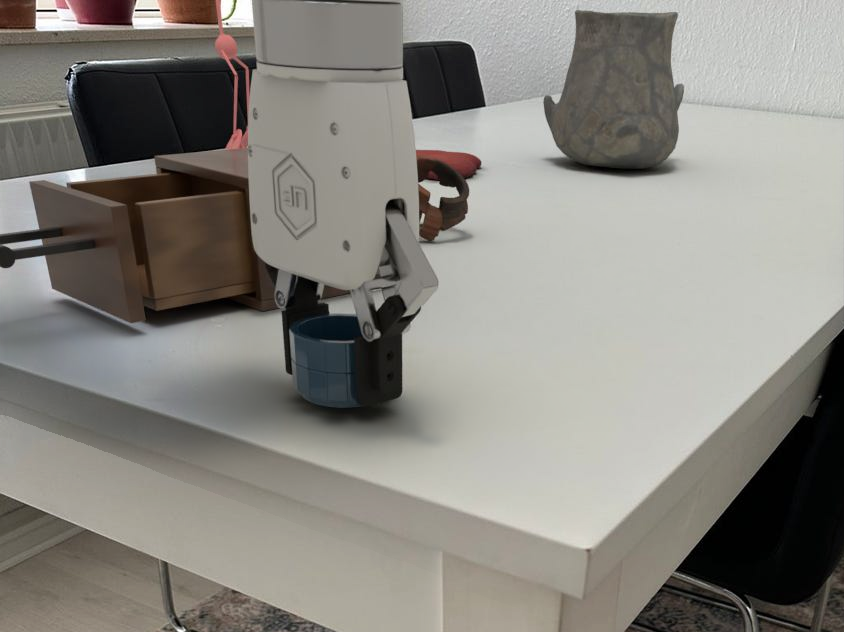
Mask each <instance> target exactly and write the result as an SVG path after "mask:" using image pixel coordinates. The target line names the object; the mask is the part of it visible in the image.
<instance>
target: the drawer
mask: <svg viewBox="0 0 844 632" xmlns="http://www.w3.org/2000/svg"><path fill="white" fill-rule="evenodd" d="M28 183H29V187H30V188H29V189H30V192H31V193H30V194H31V197H32V202H33V206H34V210H35V216H36V219H37V225H38V229H29V230H21V231H14V232H7V233H5V232H4V233H0V268H2V269H10V268H12V267H13V266H14V265H15V263H16V261H18V260H25V259H31V258H38V257H39V258H40V257H45V262H46V266H47V271H48V276H49V281H50V286H51V289H52V290H54V291H56V292H58V293H61V294H63V295H66V296H67V297H70V298H72V299H74V300H76V301H79V302H81V303H84V304H86V305H89V306H91V307H93V308H95V309H96V310H97V309H98V310H99V311H102V312H104V313H106V314H109V315H111V316H113V317H116V318H118V319H121V320H123V321H124V322H127V323H129V324H136V323H140V322H145V321H147V319H146V312H145V307H147V308H149V309H152V310H154V311H157V312H159V311H163V310H168V309H173V308H178V307H179V308H180V307H184V306H189V305H192V304H199V303H205V302H209V301H214V300H219V299H226V298H225V297H230V296H235V295H240V294H245V293H251V292H256V291H255V281H254V271H253V261H252V251H251V241H250V230H249V220H248V210H247V200H246V189H245V188H241V187H237V186H233V185H229V184H225V183H221V182H217V181H213V180H208V179H204V178H200V177H196V176H192V175H188V174H184V173H180V172H169V173H159V174H157V173H149V174H141V175H140V174H138V175H131V176H130V175H129V176H120V177H109V178H100V179H99V178H98V179H90V180H88V179H87V180H79V181H69V182H66V183H65V184H66V186H65V185H62V184H58V183H54V182H51V181H48V180H45V179H41V180H32V181H28ZM38 240H41V244H40V245H32V246H26V247H25V246H24V247H18V248H10V247H8V246H6V245H9V244H16V243H17V244H18V243H23V242H25V243H26V242H32V241H38Z"/></svg>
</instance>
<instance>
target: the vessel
mask: <svg viewBox="0 0 844 632" xmlns="http://www.w3.org/2000/svg"><path fill="white" fill-rule="evenodd" d="M574 16H575V17H574V19H575V38H574V45H573V48H572V54H571V59H570V62H569V66H568V69H567V72H566V76H565V81H564V85H563V89H562V92H561V95H560V97H559V101H558V102H555V101H554V100H553V97H552V96H551V95H549V94H546V95H544V97H543V101H542V102H543V103H542V104H543V111H544V116H545V119H546V122H547V125H548V127H549V130H550V132H551V136H552V138H553V141H554V143H555V146H556V147H557V148H558V150H560V152H561V153H562V154H563V155H565V156H566V157H567V158H569V159H571V160H572V161H574V162H577V163H580V164H582V165H587V166H589V167H591V166H592V167H600V168H601V167H602V168H611V169H621V170H641V169H646V168H647V169H648V168H651V167H654V166H658V165H660V164H661V163H663V162H664V161H666V160H667V159H668V158H669V157H670V156H671V155H672V154H673V152H674V150H675V149H676V147H677V143H678V140H679V134H680V133H679V132H680V127H679V126H680V125H679V115H678V111H679V110H680V106H681V104H682V102H683V98H684V93H685V85H684V84H683V83H676V84H674V76H673V69H672V68H673V67H672V50H673V49H672V48H673V47H672V46H673V38H674V31H675V27H676V24H677V20H678V17H679V13H678V12H677V11H669V12H668V11H667V12H635V11H627V12H626V11H622V12H621V11H620V12H601V11H594V10H581V9H576V10H575V11H574Z"/></svg>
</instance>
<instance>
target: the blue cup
mask: <svg viewBox="0 0 844 632" xmlns="http://www.w3.org/2000/svg"><path fill="white" fill-rule="evenodd" d="M289 333H290V348H291V358H292V359H291V360H292V375H293V376H292V375H291V376H292V385H293V388H294V389H295V390H296V392H297V393H298V394H300V395H301V397H302V398H303V399H304V400H305V401H307V402H309V403H312V404H314V405H317V406H322V407H328V408H338V409H339V408H340V409H343V408H345V409H346V408H347V409H348V408H349V409H350V408H359V407H362V406H361V405H358V404H357V402H356V397H355V367H354V338H358V337H362V333H361V330H360V326H359V322H358V318H357V315H356V313H329V314H321V315H315V316H310V317H305V318H302V319H300V320H298V321H296V322H294V323H292V325H291V327H290V329H289Z"/></svg>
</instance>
